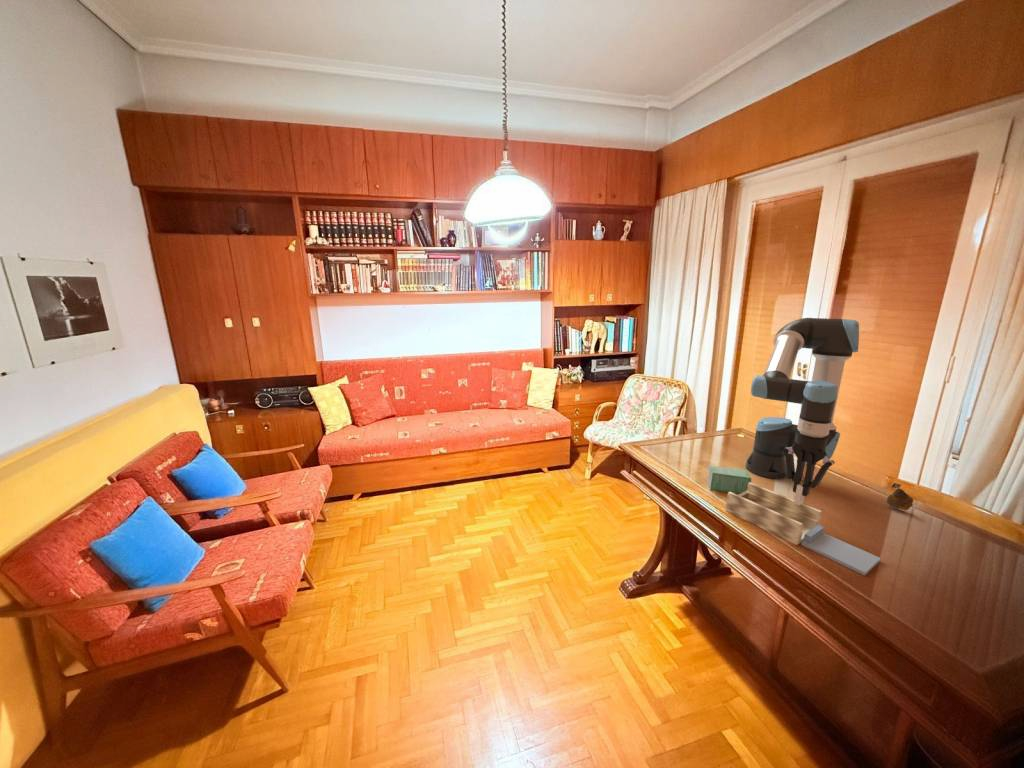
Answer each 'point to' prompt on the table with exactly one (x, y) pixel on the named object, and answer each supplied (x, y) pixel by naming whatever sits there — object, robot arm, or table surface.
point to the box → (728, 479)
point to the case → (773, 512)
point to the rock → (900, 499)
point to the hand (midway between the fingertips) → (798, 503)
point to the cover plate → (839, 551)
